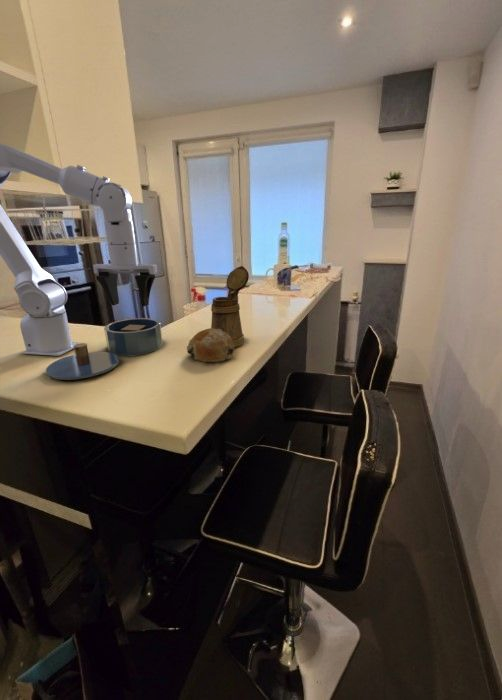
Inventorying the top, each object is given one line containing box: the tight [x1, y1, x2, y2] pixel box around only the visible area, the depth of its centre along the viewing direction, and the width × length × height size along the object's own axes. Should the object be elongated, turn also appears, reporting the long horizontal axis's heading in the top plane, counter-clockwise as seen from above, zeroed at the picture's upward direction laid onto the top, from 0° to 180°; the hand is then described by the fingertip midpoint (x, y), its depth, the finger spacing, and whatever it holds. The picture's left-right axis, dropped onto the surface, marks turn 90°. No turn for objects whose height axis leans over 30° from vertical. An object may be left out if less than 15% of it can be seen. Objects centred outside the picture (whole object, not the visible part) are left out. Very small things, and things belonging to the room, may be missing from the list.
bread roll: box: [186, 327, 235, 363], centre depth 73 cm, size 10×10×8 cm
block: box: [120, 325, 146, 332], centre depth 79 cm, size 4×4×4 cm
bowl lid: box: [45, 342, 120, 381], centre depth 67 cm, size 14×14×5 cm
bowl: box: [103, 317, 163, 357], centre depth 79 cm, size 13×13×6 cm
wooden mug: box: [210, 265, 250, 348], centre depth 82 cm, size 9×14×18 cm, turn 153°
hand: (130, 304), depth 77 cm, fingers open, 7 cm apart
